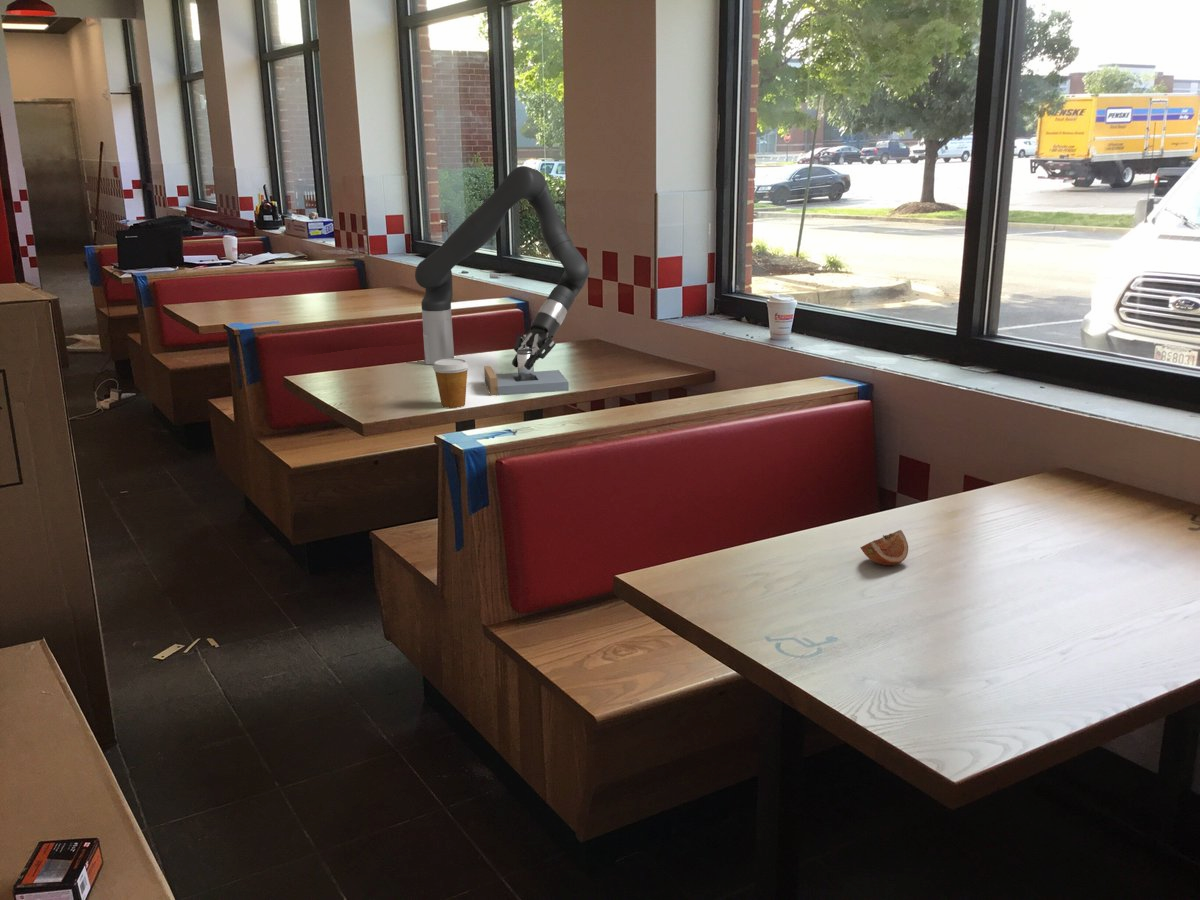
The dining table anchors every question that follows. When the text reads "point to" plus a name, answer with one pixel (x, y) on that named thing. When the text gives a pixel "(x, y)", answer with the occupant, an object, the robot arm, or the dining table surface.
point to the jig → (524, 382)
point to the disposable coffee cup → (451, 381)
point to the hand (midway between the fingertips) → (520, 366)
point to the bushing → (521, 360)
